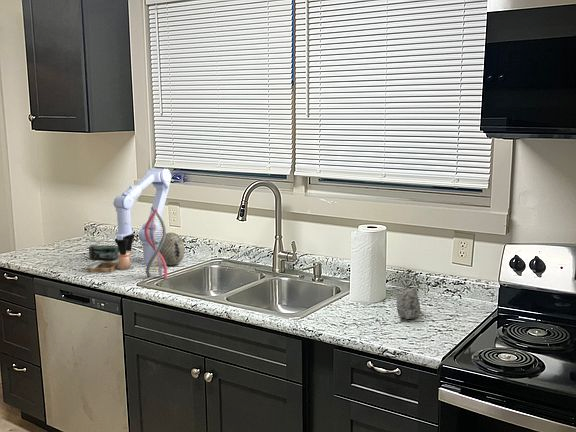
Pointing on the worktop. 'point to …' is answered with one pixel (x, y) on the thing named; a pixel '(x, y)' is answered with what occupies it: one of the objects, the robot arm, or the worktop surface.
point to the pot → (124, 261)
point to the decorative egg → (172, 249)
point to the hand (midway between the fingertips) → (125, 252)
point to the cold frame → (103, 266)
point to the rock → (408, 304)
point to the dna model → (150, 220)
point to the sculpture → (103, 252)
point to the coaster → (128, 269)
